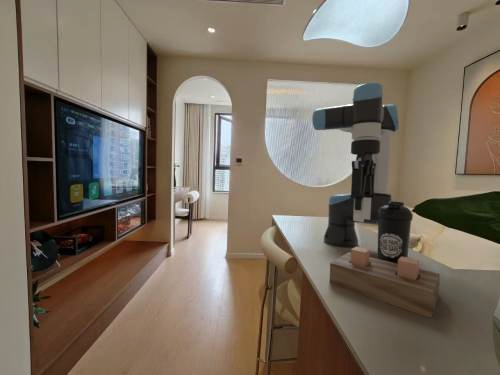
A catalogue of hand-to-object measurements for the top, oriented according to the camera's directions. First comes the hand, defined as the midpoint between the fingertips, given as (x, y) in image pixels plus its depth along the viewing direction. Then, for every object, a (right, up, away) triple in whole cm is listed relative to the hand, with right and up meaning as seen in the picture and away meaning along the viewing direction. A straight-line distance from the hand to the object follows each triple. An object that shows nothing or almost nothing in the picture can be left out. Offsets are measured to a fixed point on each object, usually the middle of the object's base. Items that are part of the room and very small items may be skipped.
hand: (361, 219), depth 69 cm
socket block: (+4, -19, -3) cm, 20 cm away
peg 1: (0, -15, +1) cm, 15 cm away
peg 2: (+8, -15, -7) cm, 19 cm away
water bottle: (+15, -19, +11) cm, 27 cm away
